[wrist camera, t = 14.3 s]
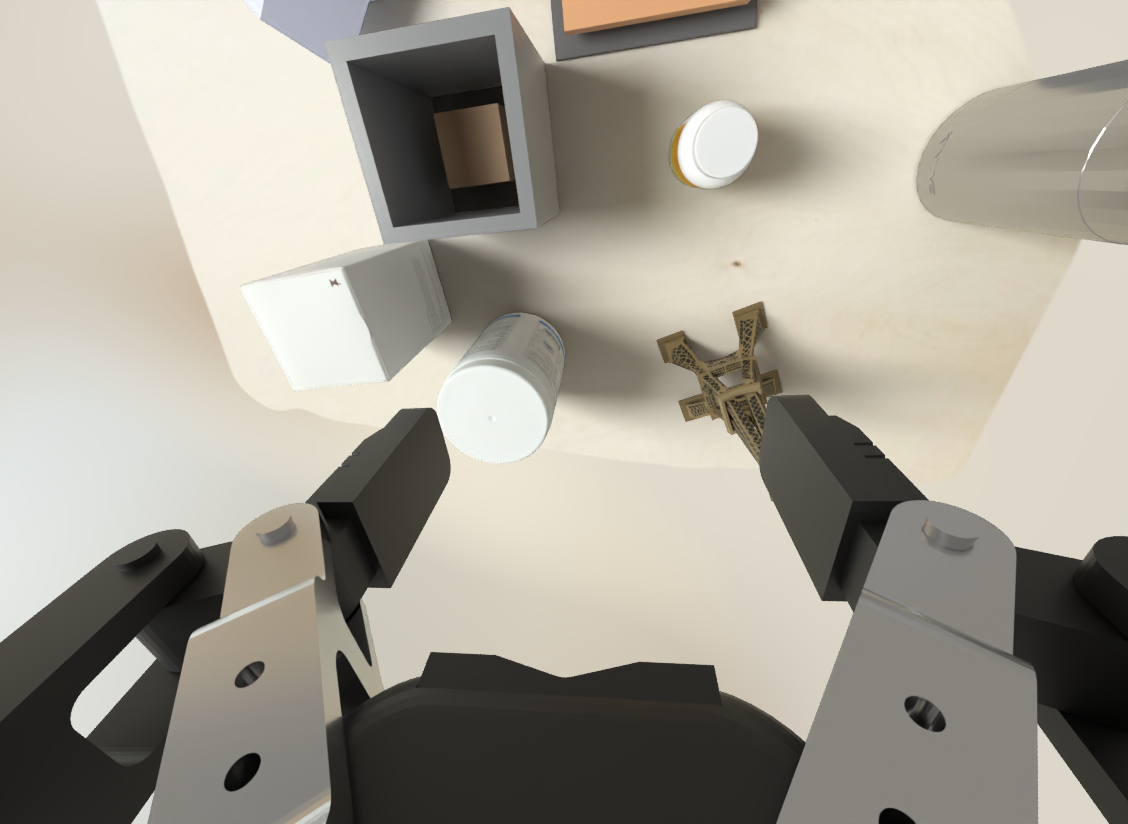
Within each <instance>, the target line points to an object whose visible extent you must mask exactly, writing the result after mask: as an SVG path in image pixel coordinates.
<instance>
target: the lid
mask: <svg viewBox="0 0 1128 824" xmlns="http://www.w3.org/2000/svg"><path fill="white" fill-rule="evenodd" d="M749 1H750V0H562V7H563V19H564V31H565V34H566V36H570V35H576V34H581V33H587V32H593V31H598V30H604V29H609V28H615V27H621V26H626V25H632V24H638V23H643V22H649V21H654V20H660V19H666V18H671V17H677V16H683V15H688V14H694V13H700V12H705V11H711V10H716V9H722V8H728V7H733V6H739V5H745V4H748V2H749Z"/></svg>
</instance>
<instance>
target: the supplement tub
mask: <svg viewBox="0 0 1128 824" xmlns="http://www.w3.org/2000/svg"><path fill="white" fill-rule="evenodd" d="M564 364H565V349H564V345H563V342H562V339H561V337H560V335H559V334H558V332H557V331H556V330H555V329H554V327H553V326H552V325H551V324H549V323H548V322H547V321H545V320H544V319H542V318H540V317H538V316H536V315H533V314H529V313H521V312H520V313H510V314H506V315H503V316H501V317H499V318H497V319H495V320H494V321H493V322H491V323H490V324H489V325H488V326H487V328H486V329H485V330H484V331H483V332H482V334H481V335H480V336H479V338H478V339H477V340H476V341H475V343H474V344H473V345H472V346H471V348H470V349H469V350H468V351H467V353H466V354H465V355H464V356H463V358H462V359H461V360H460V361H459V363H458V364H457V365H456V366H455V368H454V369H453V370H452V372H451V373H450V374H449V376H448V378H447V379H446V381H445V383H444V385H443V387H442V389H441V391H440V394H439V397H438V402H437V414H438V419H439V422H440V425H441V427H442V429H443V431H444V433H445V435H446V436H447V437H448V439H449V440H450V441H451V442H452V443H453V444H454V445H455V446H456V447H457V448H458V449H459V450H461V451H462V452H464V453H465V454H467V455H469V456H471V457H473V458H475V459H478V460H481V461H484V462H489V463H497V464H499V463H500V464H502V463H503V464H504V463H512V462H516V461H519V460H522V459H524V458H526V457H528V456H530V455H531V454H532V453H534V452H535V451H536V450H537V449H538V448H539V447H540V446H541V444H542V443H543V441H544V439H545V437H546V435H547V433H548V431H549V428H550V426H551V422H552V418H553V414H554V410H555V405H556V401H557V396H558V392H559V388H560V383H561V378H562V374H563V369H564Z"/></svg>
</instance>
